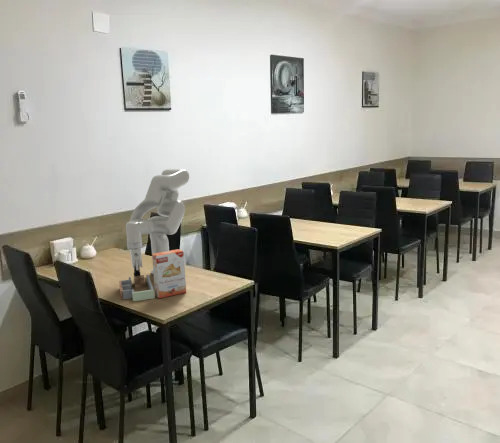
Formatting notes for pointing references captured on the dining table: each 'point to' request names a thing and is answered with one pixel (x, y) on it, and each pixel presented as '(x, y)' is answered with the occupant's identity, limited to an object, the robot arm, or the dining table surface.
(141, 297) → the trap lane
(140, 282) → the walnut block
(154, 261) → the cracker box
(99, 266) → the dining table surface
